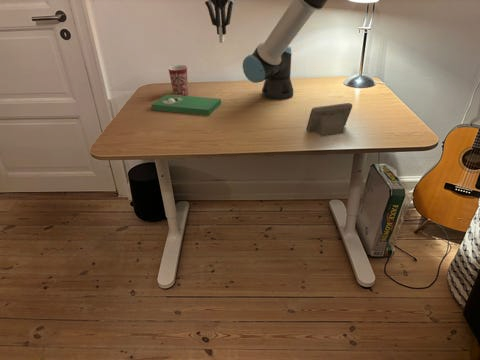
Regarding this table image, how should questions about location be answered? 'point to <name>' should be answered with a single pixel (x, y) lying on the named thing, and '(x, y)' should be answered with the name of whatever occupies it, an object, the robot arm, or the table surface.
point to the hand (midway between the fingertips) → (222, 42)
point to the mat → (187, 104)
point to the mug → (179, 79)
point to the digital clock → (329, 119)
